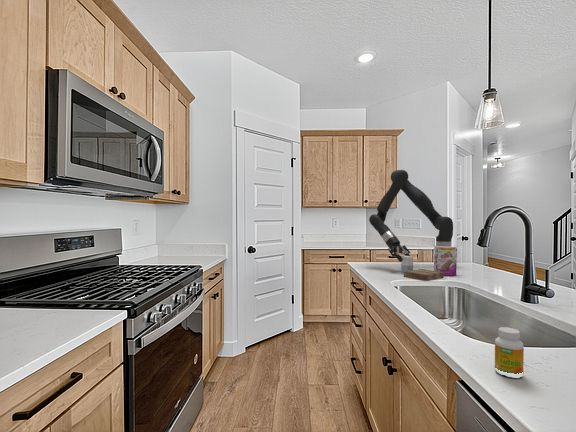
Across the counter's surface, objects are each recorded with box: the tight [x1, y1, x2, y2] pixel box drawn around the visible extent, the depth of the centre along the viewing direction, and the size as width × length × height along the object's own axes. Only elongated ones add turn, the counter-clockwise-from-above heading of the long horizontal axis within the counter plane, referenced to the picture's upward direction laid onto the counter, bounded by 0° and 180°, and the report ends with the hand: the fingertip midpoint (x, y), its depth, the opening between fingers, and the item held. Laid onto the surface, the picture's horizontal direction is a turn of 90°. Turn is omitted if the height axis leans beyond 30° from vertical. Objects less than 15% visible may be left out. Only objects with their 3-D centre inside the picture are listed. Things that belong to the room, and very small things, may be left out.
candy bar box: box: [433, 245, 458, 277], centre depth 198 cm, size 11×5×16 cm, turn 84°
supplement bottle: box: [494, 326, 525, 374], centre depth 77 cm, size 5×5×10 cm
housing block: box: [400, 255, 414, 275], centre depth 204 cm, size 5×4×10 cm
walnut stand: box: [403, 268, 445, 282], centre depth 192 cm, size 16×14×3 cm
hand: (406, 260), depth 205 cm, fingers open, 8 cm apart
